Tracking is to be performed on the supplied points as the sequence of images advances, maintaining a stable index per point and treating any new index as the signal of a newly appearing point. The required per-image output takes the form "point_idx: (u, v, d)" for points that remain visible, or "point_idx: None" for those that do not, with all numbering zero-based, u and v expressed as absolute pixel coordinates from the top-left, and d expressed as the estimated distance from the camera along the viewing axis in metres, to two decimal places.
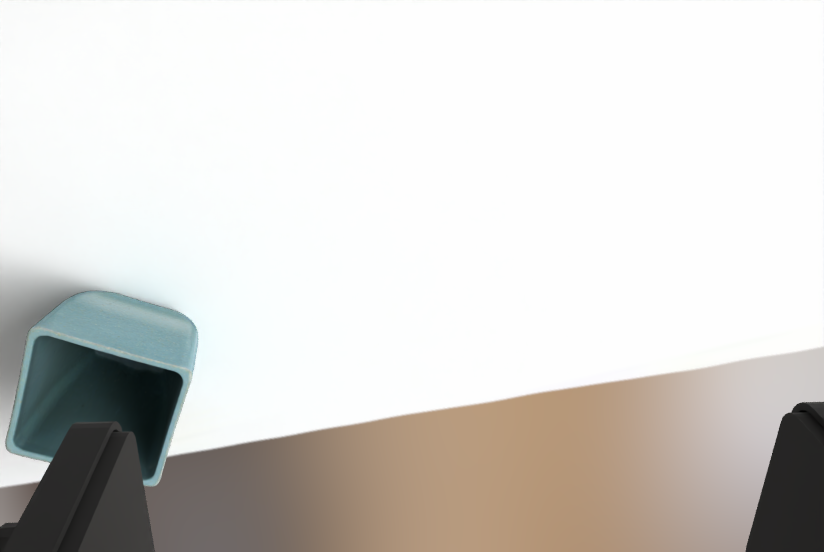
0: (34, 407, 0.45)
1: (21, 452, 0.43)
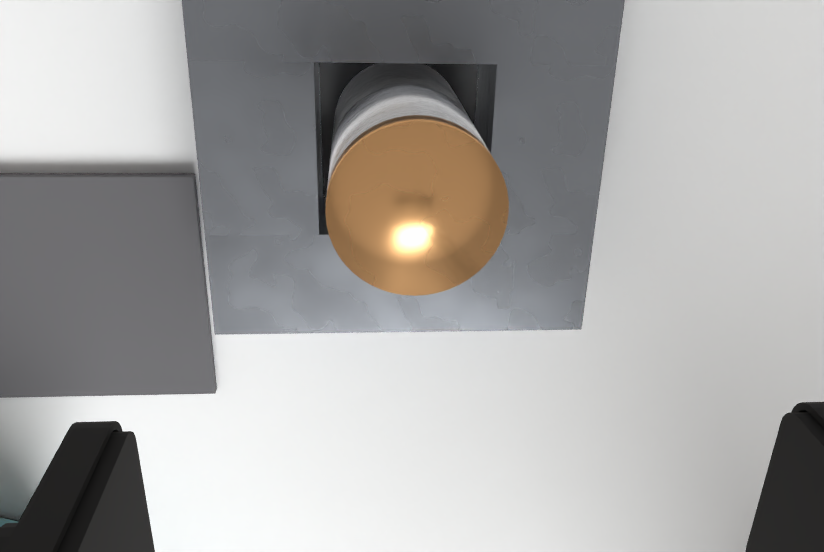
0: None
1: None
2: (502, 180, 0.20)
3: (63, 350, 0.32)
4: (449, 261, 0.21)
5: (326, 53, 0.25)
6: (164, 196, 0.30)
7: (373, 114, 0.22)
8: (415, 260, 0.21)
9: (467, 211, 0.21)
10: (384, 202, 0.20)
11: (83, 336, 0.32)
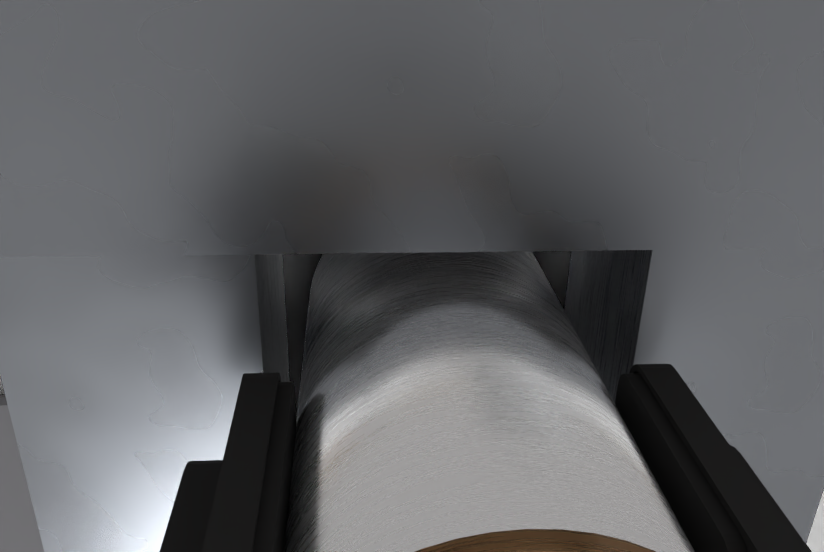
0: None
1: None
2: None
3: None
4: None
5: (282, 236, 0.11)
6: (2, 436, 0.16)
7: (392, 464, 0.08)
8: None
9: None
10: None
11: None
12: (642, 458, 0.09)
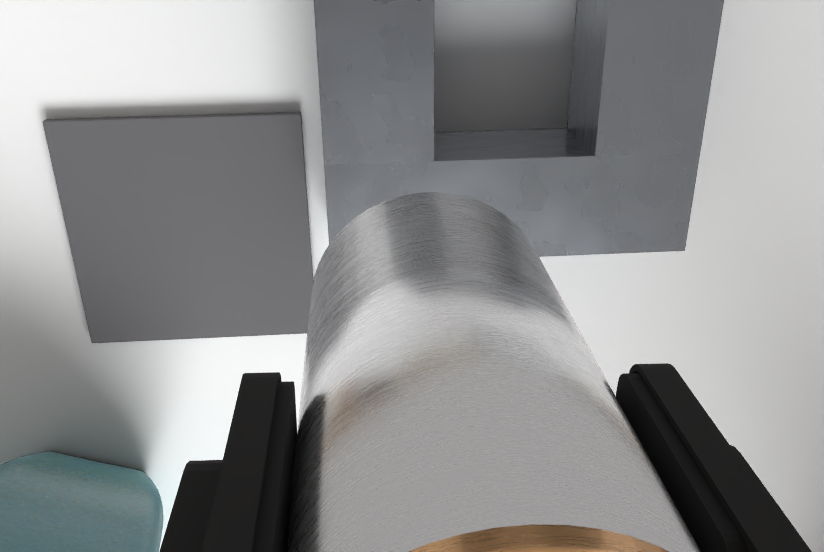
0: None
1: None
2: None
3: (171, 293, 0.33)
4: None
5: None
6: (272, 135, 0.31)
7: (396, 460, 0.08)
8: None
9: None
10: None
11: (190, 278, 0.33)
12: (646, 455, 0.09)
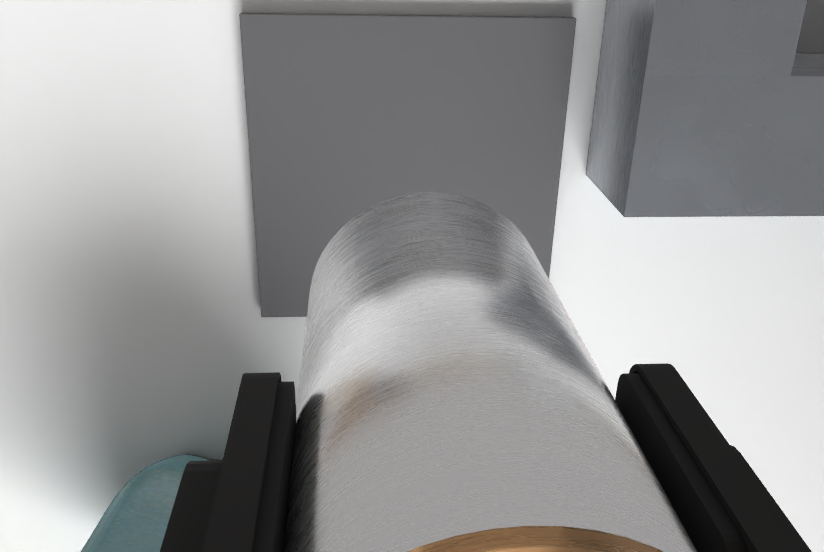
0: None
1: None
2: None
3: None
4: None
5: None
6: (535, 45, 0.23)
7: (392, 461, 0.08)
8: None
9: None
10: None
11: None
12: (643, 455, 0.09)
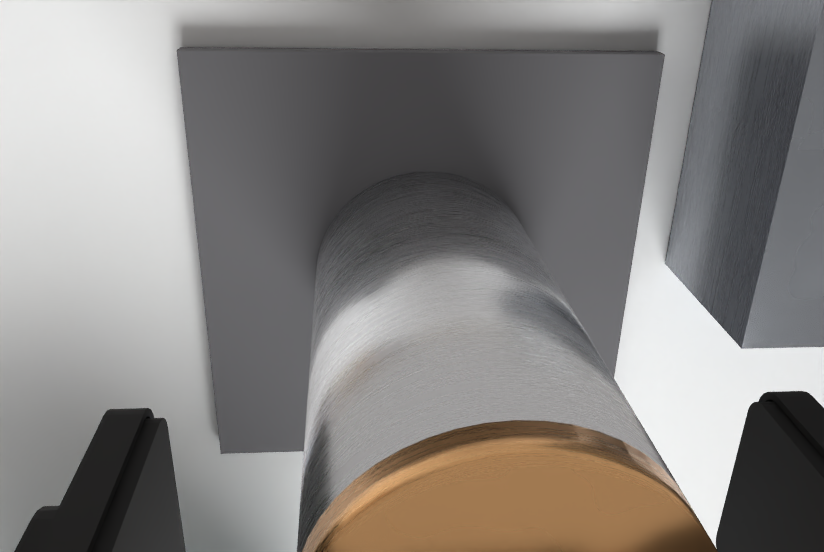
0: None
1: None
2: None
3: None
4: None
5: None
6: (604, 92, 0.16)
7: (400, 380, 0.10)
8: None
9: None
10: None
11: None
12: (616, 384, 0.11)
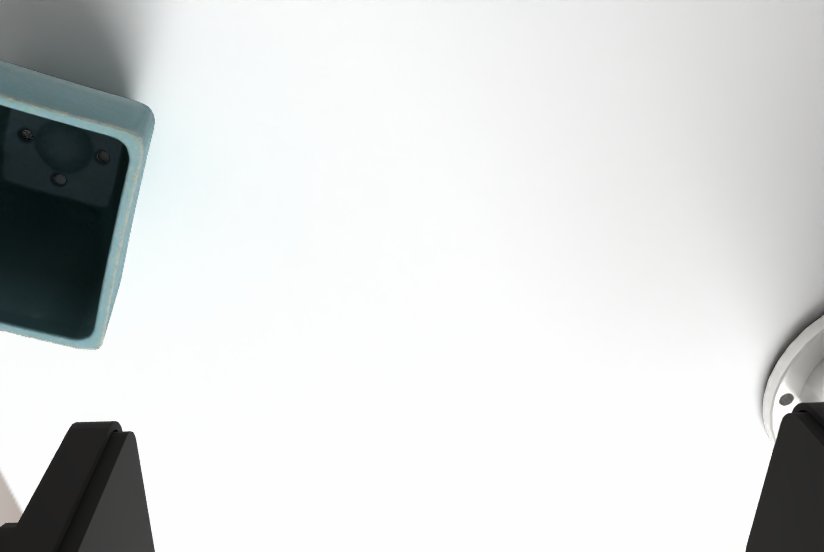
0: None
1: None
2: None
3: None
4: None
5: None
6: None
7: None
8: None
9: None
10: None
11: None
12: None
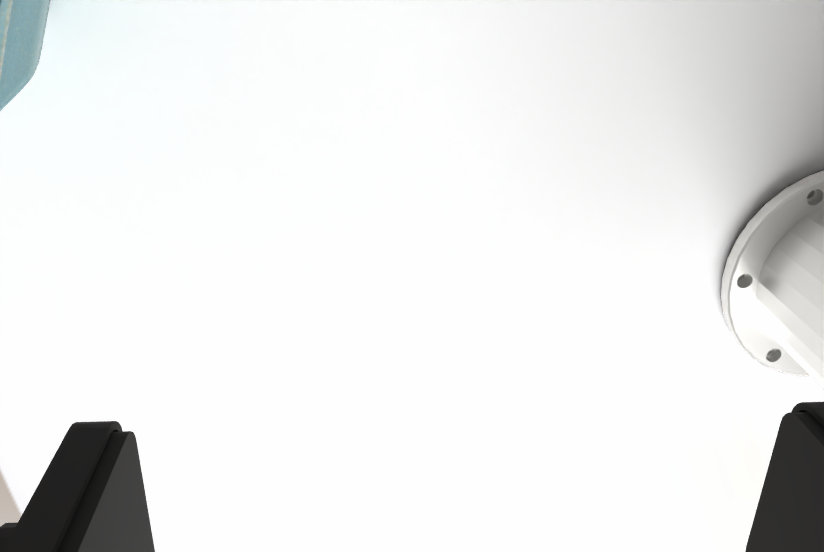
0: None
1: None
2: None
3: None
4: None
5: None
6: None
7: None
8: None
9: None
10: None
11: None
12: None
